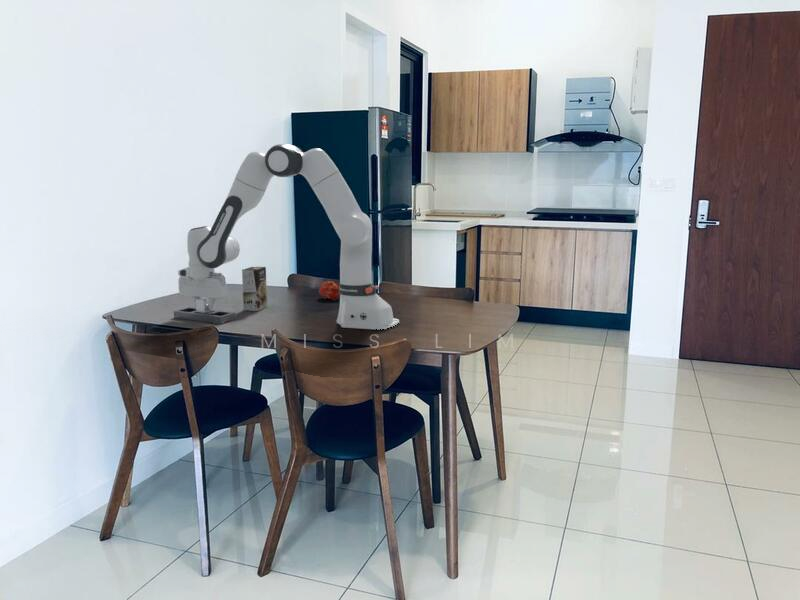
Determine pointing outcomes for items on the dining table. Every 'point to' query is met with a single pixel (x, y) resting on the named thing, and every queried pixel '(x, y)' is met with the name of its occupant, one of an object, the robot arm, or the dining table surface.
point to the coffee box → (254, 288)
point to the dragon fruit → (329, 290)
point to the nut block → (202, 305)
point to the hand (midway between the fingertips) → (204, 308)
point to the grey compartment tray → (204, 315)
